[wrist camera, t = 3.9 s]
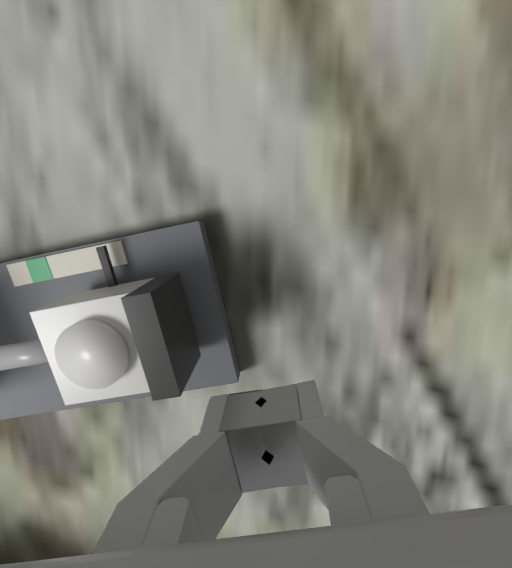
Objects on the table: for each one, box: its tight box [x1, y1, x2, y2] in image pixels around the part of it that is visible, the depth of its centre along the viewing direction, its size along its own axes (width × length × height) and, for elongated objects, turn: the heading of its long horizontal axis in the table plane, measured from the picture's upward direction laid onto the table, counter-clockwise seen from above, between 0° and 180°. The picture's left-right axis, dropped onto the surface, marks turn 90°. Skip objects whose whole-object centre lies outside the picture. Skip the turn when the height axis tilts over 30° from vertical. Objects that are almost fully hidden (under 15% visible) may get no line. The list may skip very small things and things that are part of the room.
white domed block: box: [0, 245, 201, 405], centre depth 20 cm, size 13×9×5 cm
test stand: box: [0, 220, 240, 420], centre depth 20 cm, size 25×12×10 cm, turn 102°
